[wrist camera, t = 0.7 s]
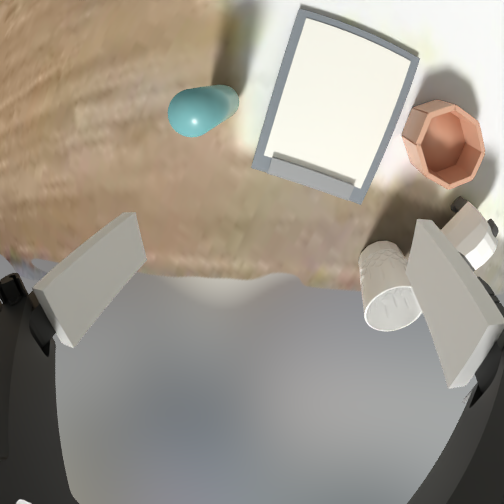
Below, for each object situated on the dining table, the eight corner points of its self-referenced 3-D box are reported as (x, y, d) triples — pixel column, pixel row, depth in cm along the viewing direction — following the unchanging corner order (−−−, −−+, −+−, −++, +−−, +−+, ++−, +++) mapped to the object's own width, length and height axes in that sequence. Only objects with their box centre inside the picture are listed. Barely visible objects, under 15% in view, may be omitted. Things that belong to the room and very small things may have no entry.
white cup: (395, 227, 34) (418, 275, 26) (410, 266, 37) (430, 316, 29) (345, 251, 37) (354, 303, 29) (365, 287, 41) (375, 338, 33)
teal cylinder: (212, 81, 27) (172, 85, 18) (246, 88, 27) (221, 94, 18) (204, 112, 29) (164, 132, 20) (237, 120, 29) (210, 141, 20)
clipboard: (299, 10, 20) (299, 6, 19) (417, 58, 21) (422, 58, 20) (252, 165, 32) (250, 170, 31) (359, 202, 33) (362, 207, 31)
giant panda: (463, 187, 28) (500, 223, 21) (480, 211, 29) (513, 249, 22) (394, 256, 36) (412, 304, 29) (415, 274, 38) (433, 320, 30)
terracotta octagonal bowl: (419, 88, 23) (436, 91, 19) (473, 124, 23) (493, 133, 20) (392, 154, 28) (405, 166, 25) (447, 183, 29) (463, 198, 25)
